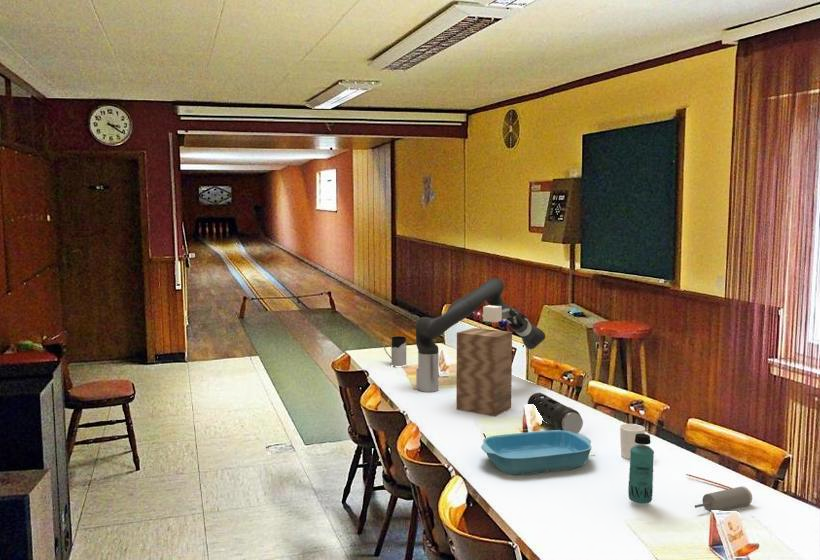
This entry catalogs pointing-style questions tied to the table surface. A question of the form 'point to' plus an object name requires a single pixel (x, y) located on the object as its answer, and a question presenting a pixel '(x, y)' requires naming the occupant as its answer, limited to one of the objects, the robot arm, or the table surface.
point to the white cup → (629, 437)
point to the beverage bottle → (641, 470)
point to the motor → (725, 497)
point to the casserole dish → (537, 451)
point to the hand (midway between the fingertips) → (505, 310)
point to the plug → (495, 313)
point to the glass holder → (397, 350)
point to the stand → (484, 371)
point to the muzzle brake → (557, 413)
